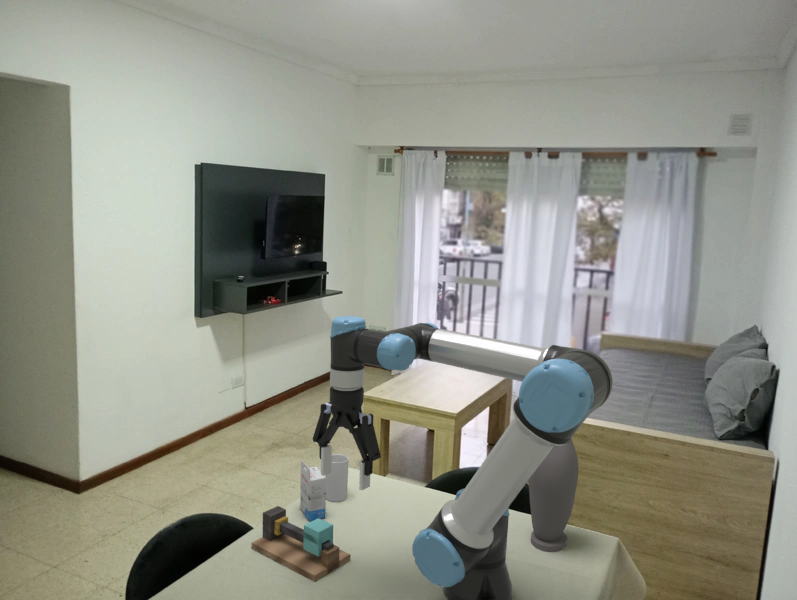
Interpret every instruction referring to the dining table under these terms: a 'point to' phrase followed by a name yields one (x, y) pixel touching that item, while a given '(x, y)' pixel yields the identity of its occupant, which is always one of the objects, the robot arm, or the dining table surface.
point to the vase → (553, 497)
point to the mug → (337, 478)
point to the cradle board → (296, 547)
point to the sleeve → (317, 535)
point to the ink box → (312, 492)
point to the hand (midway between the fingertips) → (344, 480)
